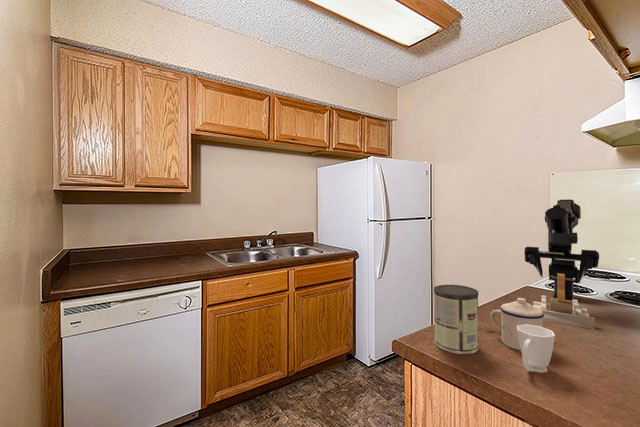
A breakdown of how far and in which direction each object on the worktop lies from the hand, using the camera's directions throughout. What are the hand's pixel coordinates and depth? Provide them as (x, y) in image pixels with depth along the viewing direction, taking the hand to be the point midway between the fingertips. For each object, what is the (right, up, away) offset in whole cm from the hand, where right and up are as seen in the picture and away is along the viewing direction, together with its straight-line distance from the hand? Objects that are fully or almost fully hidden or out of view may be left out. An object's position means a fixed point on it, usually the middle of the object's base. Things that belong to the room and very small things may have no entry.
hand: (560, 278), depth 94 cm
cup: (-29, -13, -29) cm, 44 cm away
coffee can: (-40, -13, -17) cm, 46 cm away
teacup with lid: (-25, -13, -17) cm, 32 cm away
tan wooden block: (-3, -11, -4) cm, 12 cm away
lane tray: (0, -12, 0) cm, 12 cm away
